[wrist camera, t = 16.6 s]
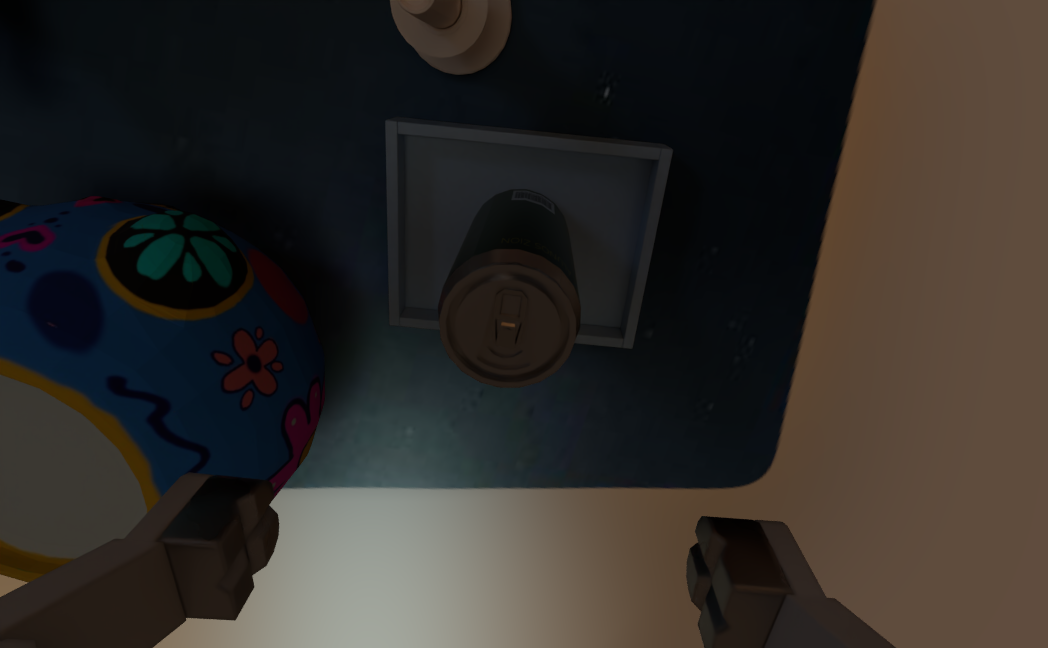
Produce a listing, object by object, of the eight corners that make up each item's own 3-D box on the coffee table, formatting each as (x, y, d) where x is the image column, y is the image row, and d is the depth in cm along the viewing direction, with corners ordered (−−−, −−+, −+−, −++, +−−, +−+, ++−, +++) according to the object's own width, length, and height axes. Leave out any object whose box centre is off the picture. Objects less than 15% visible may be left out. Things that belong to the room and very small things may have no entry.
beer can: (477, 178, 29) (437, 246, 18) (576, 193, 29) (597, 269, 18) (468, 272, 31) (427, 383, 20) (559, 285, 31) (569, 402, 20)
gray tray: (664, 143, 28) (673, 149, 26) (627, 332, 33) (632, 349, 31) (395, 116, 28) (384, 120, 26) (397, 310, 33) (388, 325, 31)
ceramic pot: (352, 179, 29) (190, 272, 16) (371, 439, 37) (274, 652, 24) (36, 156, 29) (-396, 231, 16) (120, 421, 37) (-122, 624, 24)
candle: (408, 73, 27) (337, 75, 18) (400, -52, 25) (315, -124, 15) (511, 76, 27) (494, 80, 18) (513, -48, 25) (495, -120, 15)
